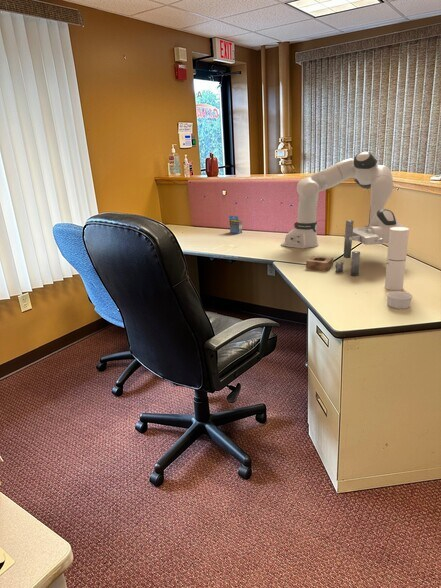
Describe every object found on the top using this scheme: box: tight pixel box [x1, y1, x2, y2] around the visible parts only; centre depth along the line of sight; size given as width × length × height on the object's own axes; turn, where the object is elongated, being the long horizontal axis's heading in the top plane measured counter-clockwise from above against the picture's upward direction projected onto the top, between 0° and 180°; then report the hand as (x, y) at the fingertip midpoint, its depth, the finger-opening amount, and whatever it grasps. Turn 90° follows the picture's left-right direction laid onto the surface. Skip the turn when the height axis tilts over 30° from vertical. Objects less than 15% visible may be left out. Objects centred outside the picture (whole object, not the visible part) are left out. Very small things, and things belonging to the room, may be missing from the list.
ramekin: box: [386, 290, 413, 310], centre depth 156 cm, size 9×9×4 cm
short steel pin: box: [335, 261, 344, 274], centre depth 199 cm, size 4×4×4 cm
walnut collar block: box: [305, 255, 334, 272], centre depth 208 cm, size 10×10×4 cm
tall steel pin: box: [342, 219, 354, 259], centre depth 201 cm, size 4×4×18 cm
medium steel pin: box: [350, 250, 361, 277], centre depth 192 cm, size 4×4×11 cm
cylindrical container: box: [384, 226, 410, 291], centre depth 171 cm, size 7×7×25 cm
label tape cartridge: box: [228, 215, 243, 235], centre depth 297 cm, size 9×4×12 cm, turn 47°
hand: (346, 237), depth 200 cm, fingers closed on tall steel pin, 3 cm apart
